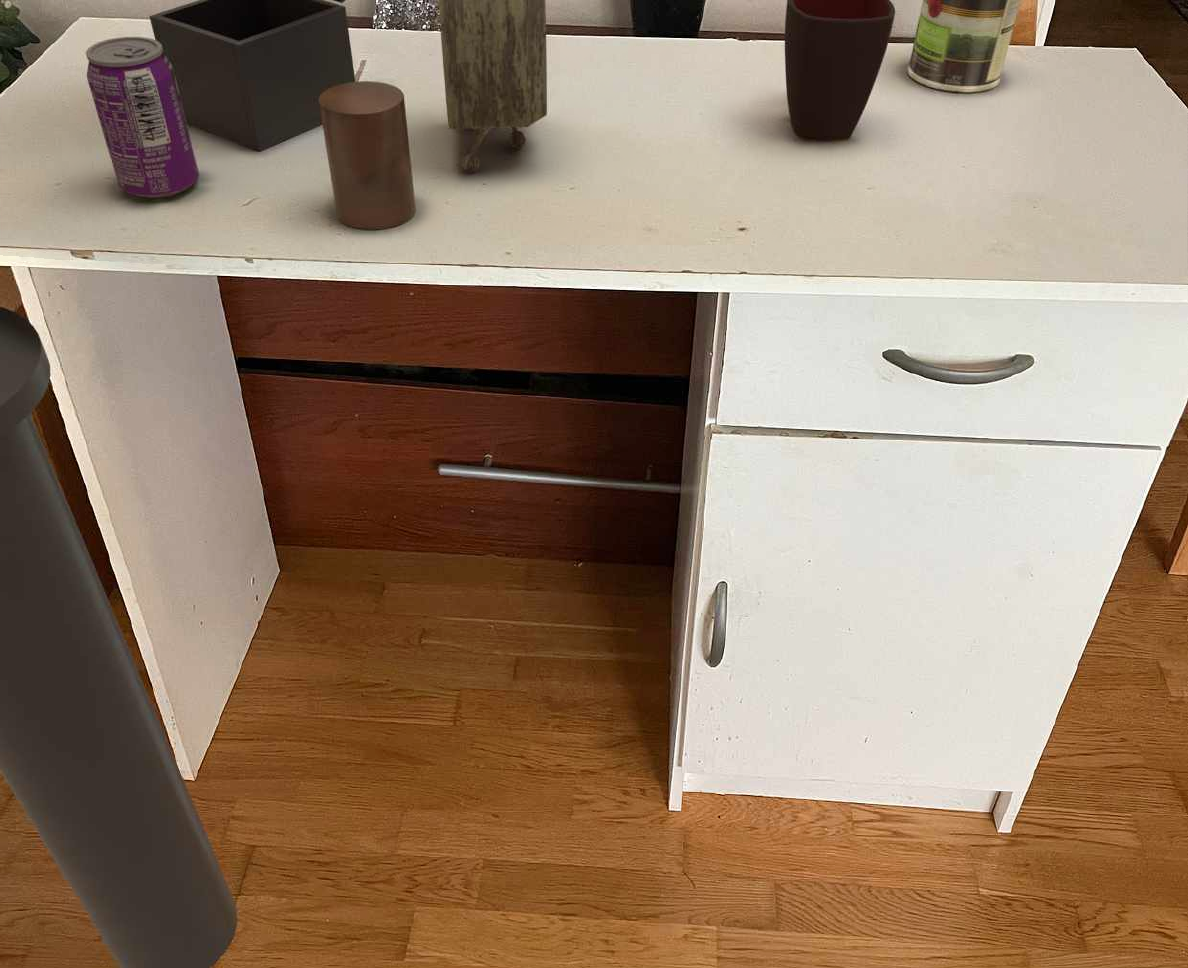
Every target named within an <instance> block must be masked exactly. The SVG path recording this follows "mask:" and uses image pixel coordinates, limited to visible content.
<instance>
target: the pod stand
mask: <svg viewBox="0 0 1188 968" xmlns="http://www.w3.org/2000/svg"><path fill="white" fill-rule="evenodd" d="M405 102H406V101H405V95H404V92H403V90H401V89H400V88H399V87H397V86H395V85H393V84H390V83H385V82H380V81H370V80H369V81H368V80H365V81H362V80H361V81H355V82H350V83H345V84H340V85H337V86H334V87H331V88H329V89H327V90H326V91H324V92H323V93H322V94H321V95H320V97H319V105H320V112H321V118H322V124H321V125H322V131H323V137H324V142H325V149H326V156H327V161H328V167H329V175H330V181H331V186H332V195H333V200H334V205H335V211H336V212H335V213H336V217H337V219H338V220H339V221H340V222H341V223H343V224H344V225H346V226H348V227H351V228H354V229H360V230H371V231H373V230H374V231H375V230H385V229H386V230H387V229H390V228H395V227H398V226H400V225H403V224H404V223H407V222H408V221H410V220H411V219H412V218H413V217H414V216H415V214H416V211H417V207H416V198H415V188H414V178H413V169H412V159H411V150H410V140H409V132H408V130H409V129H408V121H407V111H406V103H405Z"/></svg>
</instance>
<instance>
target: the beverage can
mask: <svg viewBox="0 0 1188 968" xmlns="http://www.w3.org/2000/svg"><path fill="white" fill-rule="evenodd" d="M85 55H86V59H87V60H88V65H87V70H86V79H87V83H88V86H89V90H90V94H91V97H92V100H93V103H94V107H95V110H96V113H97V116H98V121H99V123H100V127H101V129H102V133H103V137H104V140H105V143H106V147H107V150H108V154H109V157H110V160H111V165H112V168H113V172H114V174H115V177H116V180H117V184H118V187H119V188H120V189H121V190H122V191H124V192H126V193H128V194H130V195H135V196H139V197H141V198H146V199H163V198H169V197H173V196H176V195H178V194H181V193H183V192H184V191H185V190H187V189H188V188H190V187H191V186H192V185H194V184H195V183H196V182H197V180H199V177H200V172H199V168H198V165H197V160H196V156H195V151H194V148H193V143H192V140H191V135H190V132H189V128H188V124H187V123H186V119H185V115H184V111H183V107H182V102H181V98H180V94H179V90H178V86H177V82H176V78H175V74H174V70H173V67H172V65H171V63H170V62H169V60H168V59H167V58H166V56H165V55H164V54H163V48H162V45H161V43H160V42H158V41H156V40H155V38H150V37H146V36H145V37H144V36H122V37H121V36H120V37H115V38H109V39H104V40H102V41H99V42H97V43H94V44H92V45H91V46H89V47H88V48H87V49H86V50H85Z"/></svg>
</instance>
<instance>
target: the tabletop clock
mask: <svg viewBox="0 0 1188 968" xmlns="http://www.w3.org/2000/svg"><path fill="white" fill-rule="evenodd" d="M437 1H438V15H439V26H440V29H439V30H440V41H441V51H442V52H441V54H442V68H443V80H444V92H445V93H444V94H445V103H446V104H445V105H446V116H447V117H446V118H447V127H448V130H465V129H466V130H467V129H469V130H470V129H472V130H473V129H474V134H473V140H472V144H471V148H470V153H467V154H465V155H464V156H463V157H462V159H461V166H462V168H463V170H465V172H468V173H475V172H476V170H478V168H479V166H480V161H479V157H477V154H478V151H479V148H480V146H481V143H482V141H483V139H484V137H485V135H486V134H487V133H488V131H489V130H491V129H504V128H507V129H508V128H510V130H511V131H512V132H511V133H510V134H509V138H508V141H509V143H510V145H511V146H512V147H513V148H516V149H519V148H522V147H524V145H525V143H526V140H527V138H526V136H525V133H524V132H523V131H521V130H519V129H518V128H528V127H531V126H532V125H533V124H535V123H537V122H538V121H539V120H542V119H543V118H544V117H546V116H548V80H547V79H548V67H547V66H548V65H547V63H548V62H547V58H548V57H547V11H546V8H547V7H546V0H437Z"/></svg>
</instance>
